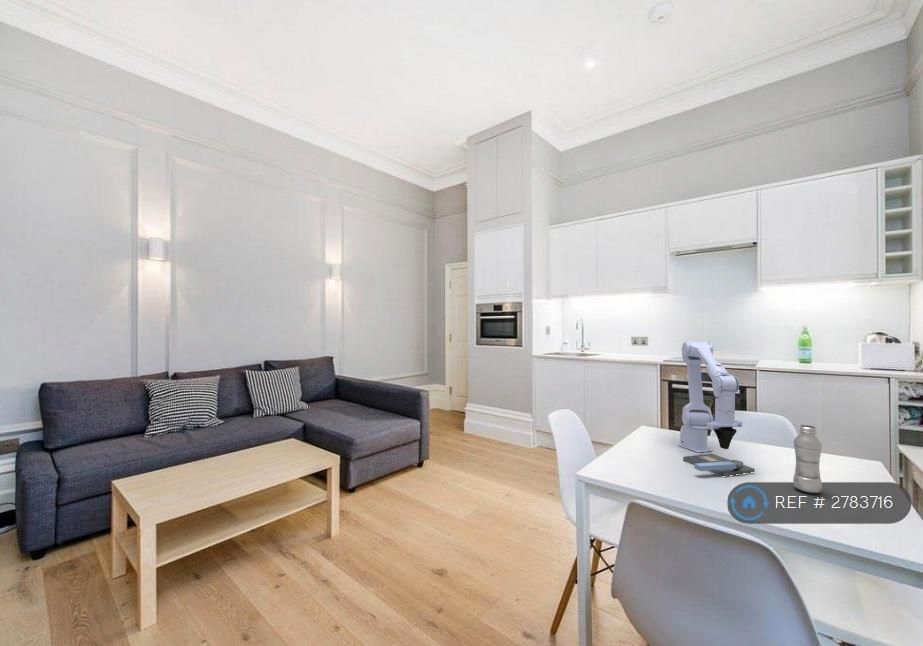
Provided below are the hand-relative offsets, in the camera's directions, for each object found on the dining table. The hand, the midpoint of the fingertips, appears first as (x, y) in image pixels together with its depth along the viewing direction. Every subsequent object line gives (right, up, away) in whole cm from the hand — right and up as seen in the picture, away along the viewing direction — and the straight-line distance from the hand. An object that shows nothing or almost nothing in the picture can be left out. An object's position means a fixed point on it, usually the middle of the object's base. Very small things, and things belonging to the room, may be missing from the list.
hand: (724, 448), depth 134 cm
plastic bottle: (+14, -8, -17) cm, 23 cm away
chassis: (-1, -7, +2) cm, 8 cm away
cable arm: (-5, -5, -6) cm, 9 cm away
